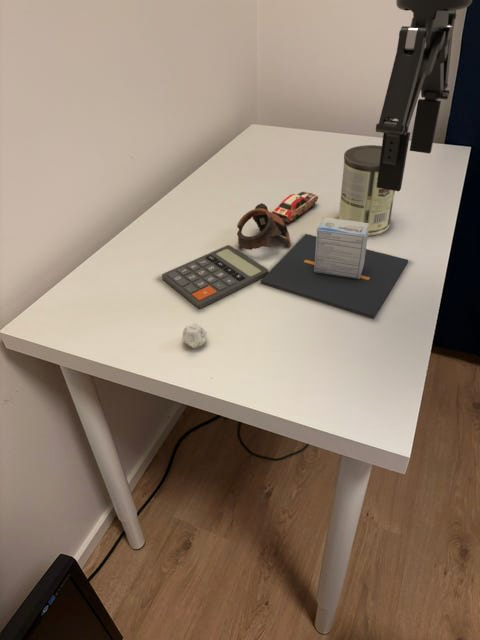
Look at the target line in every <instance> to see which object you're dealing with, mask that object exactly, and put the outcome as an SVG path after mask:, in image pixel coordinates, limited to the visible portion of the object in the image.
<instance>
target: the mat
mask: <svg viewBox="0 0 480 640" xmlns="http://www.w3.org/2000/svg"><path fill="white" fill-rule="evenodd" d="M316 238H317V235H312V234H308V233H305V234H304V235H303V236H302V237H301V238H300V239H299V240H298V242H296V244H294V246H292V247H291V248H290V250H289V251H288V252H287V253H286V254H285V255H284V256H283V257H282V258H281V259H280V260H279V261H278V262H277V263H276V264H275V265H274V266H273V267H272V268H271V269H270V270H269V271H268V274H267V275H266V276H264V277H262V278H261V280H260V284H262V285H264V286H265V285H266V286H268V287H271V288H274V289H277V290H281V291H283V292H287V293H291V294H294V295H296V296H299V297H303V298H305V299H310V300H311V301H316V302H319V303H321V304H325V305H328V306H332V307H335V308H338V309H342V310H344V311H347V312H350V313H354V314H357V315H361V316H363V317H367V318H370V319H373V320H374V319H375V318H376V315H377V314H378V313H379V311H380V309H381V308H382V306H383V304H384V302H385V301H386V299H387V298H388V296H389V294H390V292H391V291H392V290H393V288H394V286H395V285H396V283H397V281H398V279H399V278H400V276H401V274H402V273H403V271H404V270H405V268H406V266H407V265H408V263H409V259H407V258H403V257H399V256H396V255H395V256H394V255H391V254H387V253H383V252H379V251H375V250H371V249H367V248H366V252H365V260H364V266H363V270H362V273H361V276H360V279H355V278H349V277H343V276H336V275H330V274H324V273H317V272H314V268H315V252H316Z"/></svg>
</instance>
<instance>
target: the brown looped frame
mask: <svg viewBox="0 0 480 640" xmlns="http://www.w3.org/2000/svg"><path fill="white" fill-rule="evenodd" d="M272 212H273V211H269V208H268V206H267V205H266V204H265V203H259V204H257V205H256V206H255V208H253V209H251V210H249V211H247V212H246V213H244V214H243V216H242V217H241V218H240V219H239V220H238V222H237V225H236V228H237V229H238V231H237V233H236V235H237V243H238V246H239V247H240V248H242V249H246V250H249V251H252V250H257V249H259V248H262V247H266V248H270V247H271V245H270V240H269V237H272V238H273V237H280V236H282V237H284V238H285V241H286V242H287V247H288V248H290V247H291V244H292V243H291V238H290V233H289V230H288V226H287V225H286V222H284V221H283V220H282V219H281V218H280V217H279V216H278V215H276V214H274V213H272ZM251 219H252V220H253V221H254V223H256V225H257V228H258V229H259V233H257V234H255V235H251V236H247V235H244V234H243V233H242V231H243V228H244V227H245V225H246V224H247V222H248V221H250V220H251Z"/></svg>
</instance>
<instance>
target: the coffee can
mask: <svg viewBox="0 0 480 640" xmlns="http://www.w3.org/2000/svg"><path fill="white" fill-rule="evenodd" d="M381 149H382V145H374V144H369V145H367V144H365V145H358V146H354V147H351V148H349V149H346V150H345V152H344V153H343V168H342V179H341V190H340V191H341V192H340V202H339V213H338V219H342V220H349V221H357V222H364V223H368V224H369V231H368V237H372V236H376V235H381V234H384V233H385V232H386V231H388V229H389V228H390V222H391V217H392V210H393V207H394V206H393V204H394V199H395V193H396V191H394V190H388V189H382V188H377V179H378V172H379V164H380V157H381Z"/></svg>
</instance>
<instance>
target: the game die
mask: <svg viewBox="0 0 480 640" xmlns="http://www.w3.org/2000/svg"><path fill="white" fill-rule="evenodd" d="M207 333H208V331H206V330H205V329H204V328H203V327H202V326H201V325H199V324H197V323H196V322H193V323H191V324H189V325H185V328H184V329H183V331H182V336H181V341H183V342H184V343H185V344H186V345H187V346H189V347H190V348H192V349H198V348H199V347H202V346H203V345H204V344H205V343H206V341H207Z"/></svg>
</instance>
